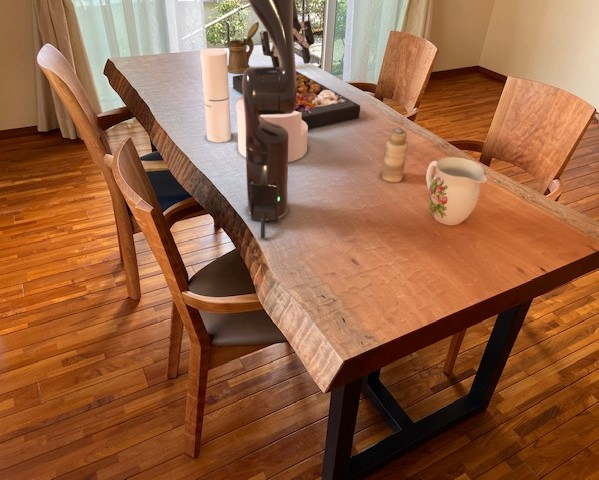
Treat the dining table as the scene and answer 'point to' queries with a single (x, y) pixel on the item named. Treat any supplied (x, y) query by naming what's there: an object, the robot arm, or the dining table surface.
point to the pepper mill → (395, 156)
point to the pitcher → (454, 188)
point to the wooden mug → (241, 52)
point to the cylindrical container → (216, 94)
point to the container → (289, 121)
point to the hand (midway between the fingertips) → (292, 67)
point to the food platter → (317, 102)
